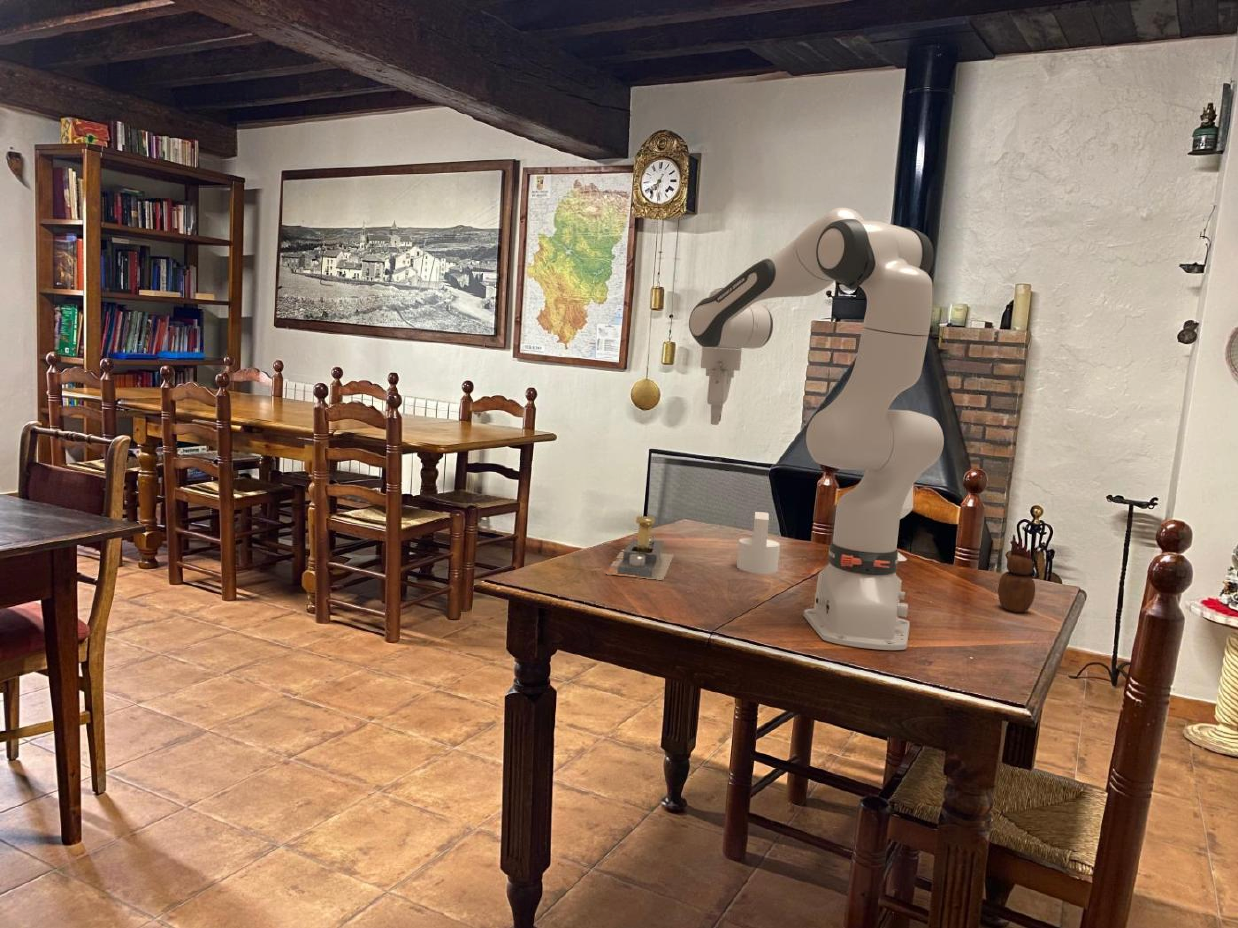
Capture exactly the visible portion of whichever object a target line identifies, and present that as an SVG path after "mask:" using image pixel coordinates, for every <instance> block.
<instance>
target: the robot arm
mask: <svg viewBox="0 0 1238 928" xmlns="http://www.w3.org/2000/svg"><path fill="white" fill-rule="evenodd" d="M933 263H934V248H933V244H932V242H931V241H930V239H929V237H928V236H927V235H926V234H924V233H923V232H920V231H919V230H916V229H914V228H911V227H904V226H903V227H902V226H899V225H894V224H890V223H886V222H884V221H881V220H880V221H879V220H865V219H864V217H862V215H861V214H860V213H859V212H857V211H855V210H854V209H852V208H849V207H836V208H833V209H832V210H829V211H828V212H826V213H825V214H823V215H822V216H821V217H819V218H818V219H816V220H815V221H814V222H813V223H811V224H810V225H809V226H807V227H806V228H805V229H804V230H803V231H802V232H801V233H799V235H798V236H797V237H796V238H795V239H794V240H792V241H791V242H790V243H788V244H787V245H786V246H785V247H783V248H781V249H780V250H779V251H777V252H776V253H774V254H772V255H770V256H768V257H766V258H765V259H762V260H760V261H758V262H756V263H754V264H753V265H752V266H750V267H748V268H747V269H746V270H745V271H743V272H741V274H739V275H738V276H737V277H736V278H735V279H733V280H732V281H731V282H729V283H728V284H727V285H726V286H725V287H720V288H716V289H714V290H712V291H711V292H710V293H709V296H708V297H705V298H703V299H701V300H700V301H699V302H698V303H697V304H696V305H695V307H694V308H693V309H692V311H691V312H690V315H689V320H688V328H689V329H688V330H689V331H690V334H691V336H692V337H693V339H694V340H695V342H696V343H697V344H699V346H701V348H702V349H701V358H700V360H701V361H700V369H705V376H706V377H709V378H708V386H707V387H708V388H707V397H706V400H707V401H706V402H707V404H708V405H710V424H711V425H713V426H714V425H715V426H717V425H719V424H720V422H721V420H722V413H723V406H724V404H725V403H726V402H727V400H728V397H729V392H730V387H731V382H732V378H733V379H734V377H735V372H736V371H738V372H739V371H740V370H741V364H742V363H741V360H742V351H743V350H742V349H751V350H752V349H758V348H759V349H760V348H762V347H764V346H765V345H766V344H767V343H768V342H769V341H770V339H771V337H772V334H773V329H774V320H773V316H772V314H771V311H770V310H769V309H768V308H767V307H766V306H764V305H760V304H758V303H757V302H760V301H764V300H767V299H775V298H788V297H789V298H794V297H797V298H798V297H808V296H809V297H810V296H813V295H817V294H818V293H819V292H822V291H823V290H825V289H827V288H828V287H830V286H831V285H832V284H833V283H835V282H838V283H839V284H842V285H843V286H845V288H848V289H849V290H852V291H853V290H855V289H857V288H859V287H860V288H861V289H862V290H863V291H864V294H865V296H866V308H865V309H866V310H865V312H864V313H865V314H864V319H863V323H862V329H861V333H860V340H859V344H858V345H859V346H858V350H857V355H856V357H855V362H854V366H853V369H852V372H851V374H850V377H849V378H848V381H847V382H846V384H845V386H844V387H843V389H842V390H841V391H840V393H839V394H838V395H837V397H836V398H835V399H834V400H833V401H831V403H829V405H828V406H826V407H825V408H822V410H820V411H819V412H817V413H816V414H814V416H813V417H812V418H811V420H810V421H809V424H808V427H807V429H806V435H805V436H806V437H805V441H806V443H805V444H806V448H807V450H808V452H809V455H810V456H811V458H812V459H813V460H814V461H815V462H816V463H817V464H819V465H823V466H827V467H830V468H834V469H839V470H843V471H844V470H849V471H865V472H864V474H863V476H862V478H861V480H860V481H859V482H858V484H857V485H856V486H855V487H854V488H852V489H851V490H849V491H847V492H845V493H844V494H842V495H841V496H840V497H839V499H838V501H837V503H836V506H835V507H836V508H835V517H834V518H835V519H834V527H833V536H832V541H831V542H830V544H829V548H828V562H829V563H828V564H827V565H826V567H824V568H823V569H822V570H821V571H819V572H818V574H817V575H818V577H817V583H816V590H815V591H816V592H815V596H814V597H815V598H814V606H813V608H806V609H804V610H803V611H804V612H803V617H804V618H805V620H806V621H807V622H808V623H809V625H810V626H811V627H812V628H813V630H814V631H815V632H816V633H817V634H818V635H819V637H820V638H821V639H822V640H823V641H825V642H829V643H833V644H836V645H837V644H838V645H841V646H847V647H853V648H861V649H868V650H869V649H872V650H881V651H904V650H907V647H908V642H909V640H908V639H909V635H910V634H909V633H910V629H911V628H910V627H911V625H910V623H911V621H909V620H907V619H904V618H905V617H907V616H908V609H909V603H907V602H906V603H905V602H900V600H905V598H906V592H905V591H902V579H901V578H900V577H899V576H898V575H897V570H898V563H899V561H898V552H899V551H898V549H897V548H896V542H897V543H898V539H897V535H898V536H899V530H898V528H899V529H900V520H901V519H900V516H901V511H902V507H903V504H904V501H905V499H906V497H907V495H908V493H909V491H910V489H911V487H912V486H913V487H914V483H916V481H917V480H918V479H919V478H920V476H921V475H922V474H923V473H924V472H925V471H926V470H928V469H930V467H932V466H933V465H935V464H936V463H937V461H938V460H939V459H940V457H941V455H942V452H943V449H944V444H945V442H944V441H945V437H944V433H943V429H942V427H941V425H940V423H939V422H938V421H937V419H935V418H934V417H932V416H930V415H927V414H923V413H920V412H916V411H913V410H906V409H905V410H904V409H903V410H901V409H890V407H891V404H892V403H893V401H894V400H895V399H896V397H897V396H898V395H900V394H901V393H902V392H904V391H906V390H907V389H909V388H911V387H913V386H915V384H916V383H917V382H918V381H919V379H920V377H921V375H922V370H923V365H924V360H925V356H926V351H927V350H926V349H927V345H928V341H929V340H928V339H929V335H930V329H931V322H932V315H933V300H934V299H933V298H934V297H933V295H934V293H933V292H934V291H933V289H934V287H933V282H932V278H931V277H930V276H929V272H930V270H931V268H932V266H933ZM900 617H903V618H900Z"/></svg>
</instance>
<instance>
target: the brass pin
mask: <svg viewBox="0 0 1238 928" xmlns="http://www.w3.org/2000/svg"><path fill="white" fill-rule="evenodd" d="M635 521H636V523H637V524H638V535H637V539H638V542H637V552H646V553H649V543H650V537H651V532H652V531H651V530H652V525H655V522H656V518H654V517H651V516H644V515H643V516H641V515H639V516H636V520H635Z"/></svg>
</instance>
